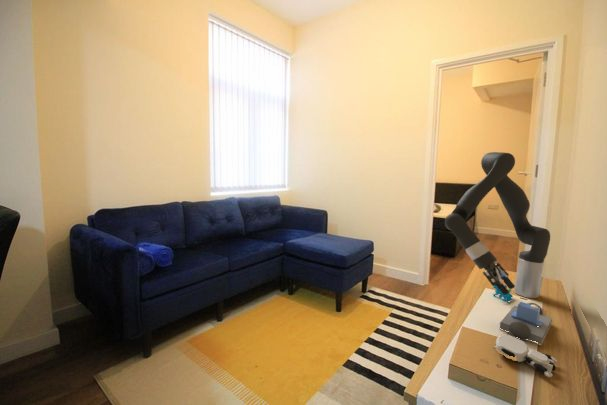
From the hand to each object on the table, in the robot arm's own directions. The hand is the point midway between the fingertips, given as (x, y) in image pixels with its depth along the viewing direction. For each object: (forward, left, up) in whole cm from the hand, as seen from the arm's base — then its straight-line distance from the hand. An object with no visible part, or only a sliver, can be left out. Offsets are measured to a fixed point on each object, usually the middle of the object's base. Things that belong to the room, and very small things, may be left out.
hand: (509, 290), depth 110 cm
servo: (-3, +6, -12) cm, 13 cm away
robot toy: (+16, +21, -13) cm, 29 cm away
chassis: (-3, +6, -12) cm, 14 cm away
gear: (-15, -16, -12) cm, 25 cm away
